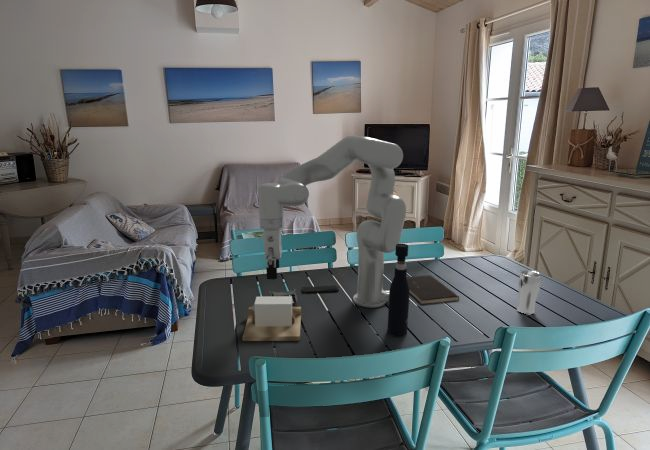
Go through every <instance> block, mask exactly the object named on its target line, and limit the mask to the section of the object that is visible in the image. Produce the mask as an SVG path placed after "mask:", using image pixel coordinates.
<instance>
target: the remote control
mask: <svg viewBox="0 0 650 450" xmlns="http://www.w3.org/2000/svg"><path fill="white" fill-rule="evenodd" d="M339 290H340V289H339V288H338V285H319V286H318V285H316V286H302V287H301V293H302V292H303V293H307V294H320V293H321V294H324V293H325V294H326V293H339V292H340V291H339ZM303 293H302V294H303Z"/></svg>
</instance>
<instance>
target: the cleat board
mask: <svg viewBox="0 0 650 450" xmlns="http://www.w3.org/2000/svg"><path fill="white" fill-rule="evenodd" d="M301 321H302V306H298V307H292V326H265V327H255V310H252V306H249V307H248V317H247V320H246V324H245V327H244V330H243V334H242V341H243V342H267V341H268V342H269V341H271V342H274V341H275V342H280V341H281V342H285V341H287V342H288V341H289V342H290V341H292V342H293V341H295V342H296V341H298V342H299V341H301V327H302V326H301V325H302V324H301V323H302V322H301Z"/></svg>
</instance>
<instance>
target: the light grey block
mask: <svg viewBox="0 0 650 450" xmlns="http://www.w3.org/2000/svg"><path fill="white" fill-rule="evenodd" d="M292 303H293V296H292V295H282V296H272V295H271V296H255V301H254V304H253V305H251V307H252V310H255V327H265V326H292Z"/></svg>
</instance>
